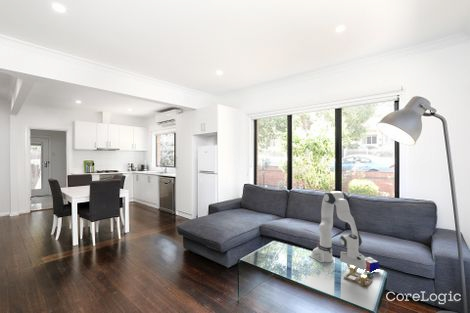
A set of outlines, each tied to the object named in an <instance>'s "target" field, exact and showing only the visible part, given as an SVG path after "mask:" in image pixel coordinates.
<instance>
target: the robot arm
mask: <svg viewBox="0 0 470 313" xmlns="http://www.w3.org/2000/svg"><path fill="white" fill-rule="evenodd" d="M334 205H335V206H334ZM349 205H350V204H349V202H348V200H347V195H346V193H345V192H344V191H339V190H335V191H334V190H333V191H327V192H325V193H324V194H323V198H322V202H321V211H320V216H321V220H320V224H319V225H318V231H319V232H318V233H319V243H318V244H317V246H316V247H314V249H313V250H312V251H311V253H310V254H309V257H311V258H312V259H314V260H316V261H318V262H320V263H332V262H334V259H333V258H334V257H333V245H332V242H333V237H332V229H333V226H334V208H335V207H336V215H337V218H338V219H339V220H340V221H342V222H345V223H347V224H349V225H350V229H351V230H350V231H351V233H349V234H343V235H341V236H340V237H339V244H340V245H341V246H342V247H345V248H346V249H347V250H346V251H343V250H342V251H340V254H339V255H340V257H339V261H340V262H341V263H344V264H346V265H347V267H348V270H349V267H350V266H351V265H352V266H355V267H356V269H355V272H357V269H358V268H361V269H363V270H364V269H366V261H365V258H366V256H365V255H364V254H362V253H361V252H359V247H360V246H361V245H362V243H363V240H362V238H361V234H360V231H359V229H358V225H357V222H356V219H355V217H354V216H352V213H351V210H350V206H349Z"/></svg>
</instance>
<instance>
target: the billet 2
mask: <svg viewBox="0 0 470 313" xmlns="http://www.w3.org/2000/svg"><path fill="white" fill-rule="evenodd" d="M359 276H360V281H359V282H360V283H362V284H365V285H366V284H367V283H368V281H367V279H368V278H367V275H364V274H362V275H359Z"/></svg>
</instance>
